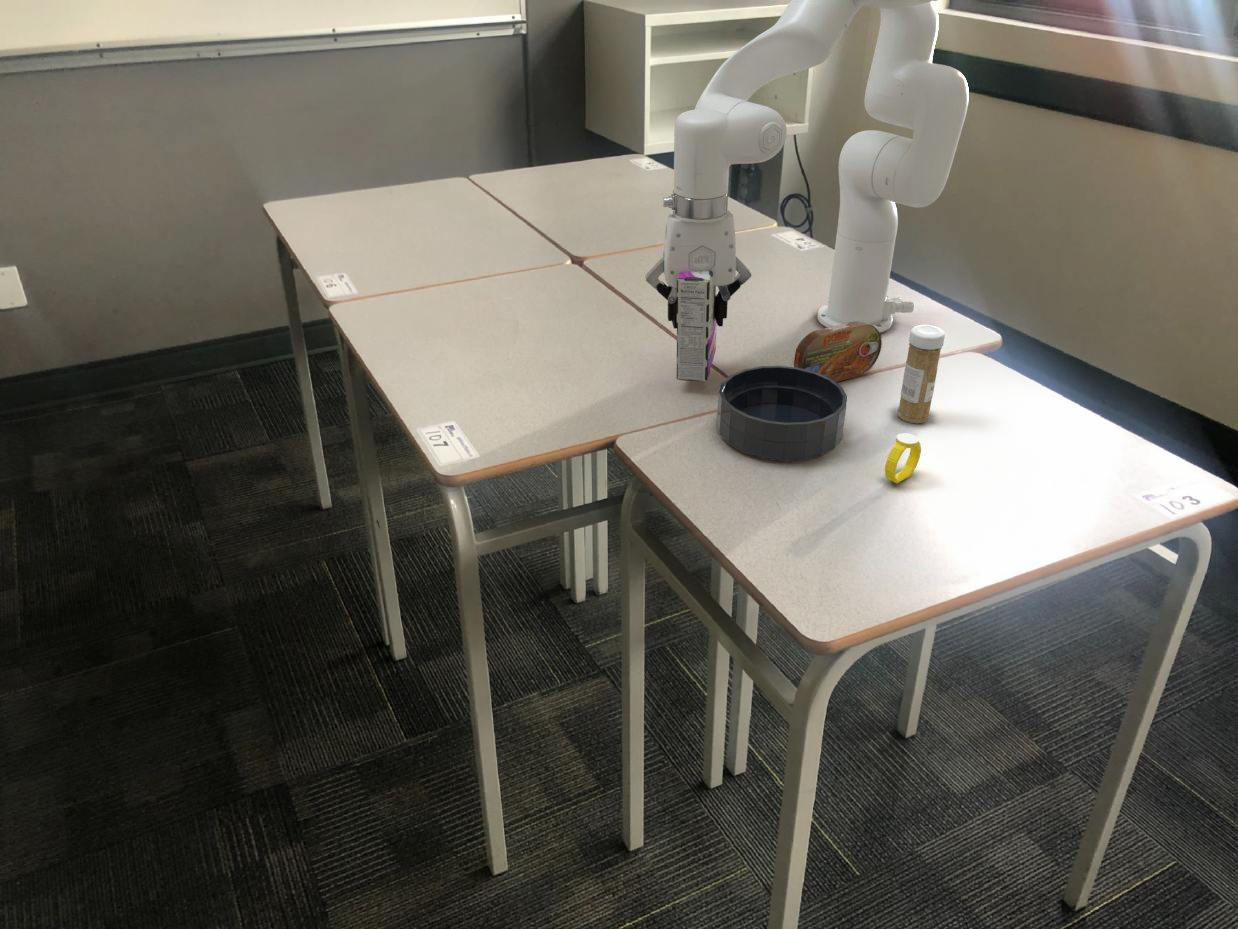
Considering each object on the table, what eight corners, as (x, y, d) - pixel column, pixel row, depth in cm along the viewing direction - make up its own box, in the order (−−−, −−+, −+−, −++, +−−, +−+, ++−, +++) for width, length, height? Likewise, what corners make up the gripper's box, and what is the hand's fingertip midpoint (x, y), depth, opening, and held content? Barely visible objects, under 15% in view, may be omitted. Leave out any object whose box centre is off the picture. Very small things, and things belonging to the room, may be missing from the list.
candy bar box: (684, 348, 156) (687, 248, 147) (716, 350, 155) (720, 250, 147) (673, 381, 147) (675, 276, 138) (707, 383, 146) (711, 278, 137)
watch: (895, 491, 125) (902, 451, 122) (877, 482, 127) (883, 442, 124) (921, 474, 129) (929, 434, 126) (903, 466, 130) (910, 426, 127)
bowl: (824, 400, 146) (829, 364, 143) (856, 461, 131) (862, 422, 128) (708, 404, 145) (710, 367, 142) (728, 466, 130) (730, 426, 127)
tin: (800, 392, 148) (806, 340, 144) (788, 383, 151) (793, 332, 146) (879, 371, 154) (887, 321, 150) (866, 363, 157) (873, 313, 152)
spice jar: (934, 422, 140) (952, 335, 133) (905, 426, 140) (920, 338, 132) (919, 407, 144) (935, 321, 137) (890, 410, 143) (905, 324, 136)
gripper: (641, 215, 134) (641, 337, 144) (767, 210, 135) (759, 331, 145) (636, 198, 140) (637, 316, 150) (756, 193, 141) (749, 311, 151)
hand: (697, 322), depth 147 cm, fingers closed on candy bar box, 5 cm apart
